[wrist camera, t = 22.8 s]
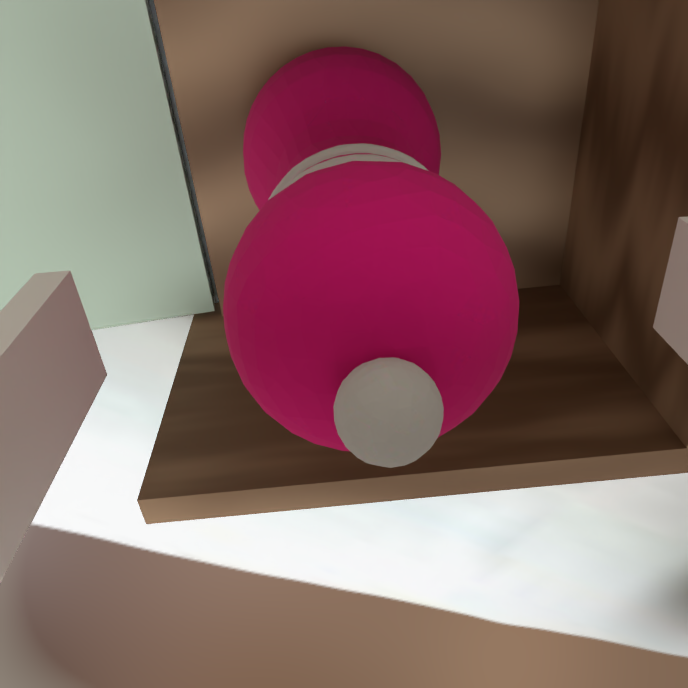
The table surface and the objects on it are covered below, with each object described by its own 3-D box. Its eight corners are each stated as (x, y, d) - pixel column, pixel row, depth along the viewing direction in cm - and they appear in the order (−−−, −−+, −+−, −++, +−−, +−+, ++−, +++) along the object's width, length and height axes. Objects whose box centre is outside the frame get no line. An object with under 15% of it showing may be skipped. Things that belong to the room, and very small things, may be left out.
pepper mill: (419, 25, 24) (694, 192, 7) (420, 200, 28) (597, 576, 11) (238, 41, 24) (77, 249, 7) (265, 214, 28) (203, 613, 11)
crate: (569, 289, 32) (712, 470, 21) (201, 323, 32) (146, 524, 21) (642, -202, 22) (1022, -379, 10) (87, -153, 21) (-160, -276, 10)
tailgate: (214, 311, 30) (-37, 350, 29) (214, 294, 32) (-24, 330, 30) (121, -104, 21) (-253, -76, 20) (127, -99, 22) (-221, -73, 21)
